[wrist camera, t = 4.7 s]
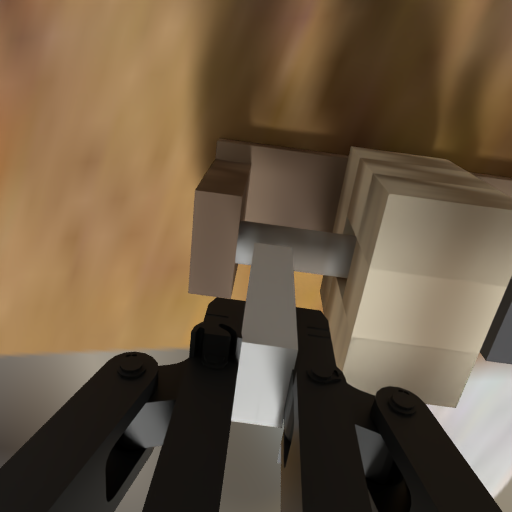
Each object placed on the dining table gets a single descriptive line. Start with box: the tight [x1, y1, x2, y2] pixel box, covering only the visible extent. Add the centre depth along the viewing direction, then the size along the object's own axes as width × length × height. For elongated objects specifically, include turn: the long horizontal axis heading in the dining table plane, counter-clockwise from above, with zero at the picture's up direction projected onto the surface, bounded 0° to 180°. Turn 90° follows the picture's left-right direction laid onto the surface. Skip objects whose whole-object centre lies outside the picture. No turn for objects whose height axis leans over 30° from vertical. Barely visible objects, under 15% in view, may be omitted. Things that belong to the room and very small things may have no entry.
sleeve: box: [320, 146, 512, 408], centre depth 20 cm, size 5×9×9 cm, turn 173°
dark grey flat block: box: [480, 276, 512, 364], centre depth 20 cm, size 1×6×6 cm, turn 173°
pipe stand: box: [188, 138, 512, 299], centre depth 22 cm, size 22×7×7 cm, turn 83°
